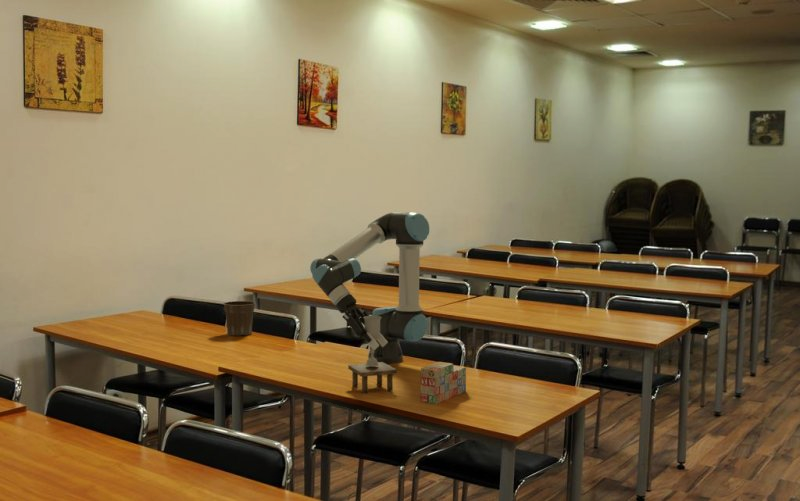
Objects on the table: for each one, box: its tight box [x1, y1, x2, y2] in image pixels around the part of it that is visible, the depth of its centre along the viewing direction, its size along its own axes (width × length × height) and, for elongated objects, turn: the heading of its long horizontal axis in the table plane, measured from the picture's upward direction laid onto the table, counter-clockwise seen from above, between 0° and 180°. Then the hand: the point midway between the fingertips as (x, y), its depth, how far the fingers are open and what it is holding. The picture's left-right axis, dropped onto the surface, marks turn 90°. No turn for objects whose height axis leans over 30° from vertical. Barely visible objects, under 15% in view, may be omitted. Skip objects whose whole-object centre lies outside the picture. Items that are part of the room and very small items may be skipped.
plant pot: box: [223, 300, 256, 337], centre depth 409 cm, size 16×16×16 cm
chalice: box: [363, 315, 381, 366], centre depth 299 cm, size 7×7×18 cm
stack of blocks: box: [420, 361, 467, 405], centre depth 289 cm, size 21×6×12 cm, turn 145°
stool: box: [347, 362, 398, 394], centre depth 300 cm, size 14×14×8 cm
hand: (381, 346), depth 298 cm, fingers closed on chalice, 6 cm apart
